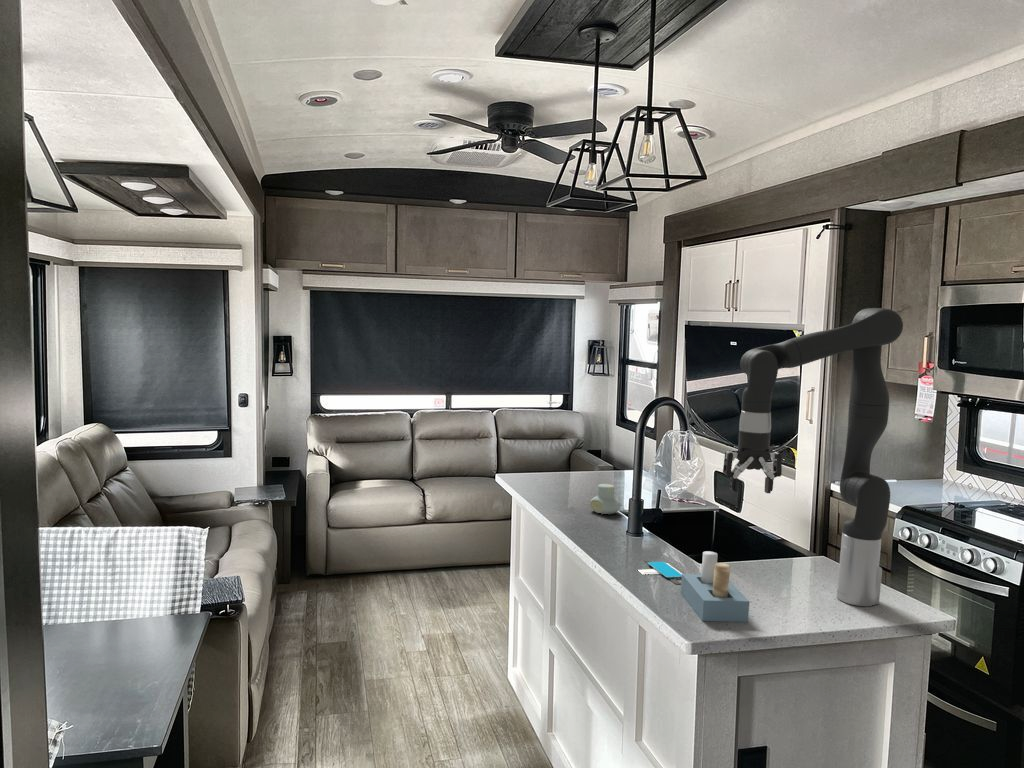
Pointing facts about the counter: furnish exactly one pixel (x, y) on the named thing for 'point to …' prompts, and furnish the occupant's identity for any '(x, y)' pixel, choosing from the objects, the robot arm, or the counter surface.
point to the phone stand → (663, 570)
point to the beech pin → (721, 580)
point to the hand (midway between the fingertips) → (750, 492)
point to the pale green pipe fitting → (605, 500)
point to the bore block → (702, 601)
